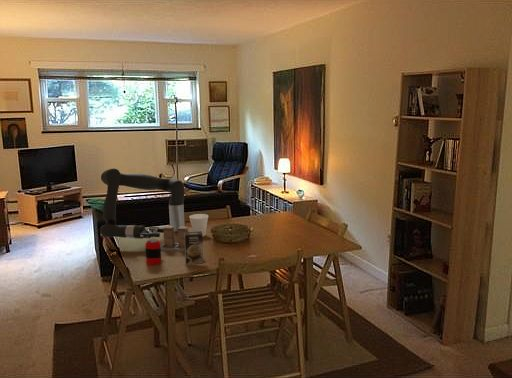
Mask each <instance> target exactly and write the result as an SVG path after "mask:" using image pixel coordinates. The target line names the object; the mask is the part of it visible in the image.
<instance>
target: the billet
mask: <svg viewBox="0 0 512 378" xmlns="http://www.w3.org/2000/svg"><path fill="white" fill-rule="evenodd" d="M162 229H163V230H164V233H163V244H164V248H174V247H175V243H176V242H175V239H176V238H175V232H174V226H170V225H165V226H164V227H162Z"/></svg>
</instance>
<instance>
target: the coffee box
mask: <svg viewBox="0 0 512 378" xmlns="http://www.w3.org/2000/svg"><path fill="white" fill-rule="evenodd" d="M184 235H185V252H184V257H185V258H184V259H185V266H194V265H195V266H196V265H204V244H203V243H204V242H203V240H204V239H203V237H204V236H202V232H201V231H198V232H193V231H188V232H184Z"/></svg>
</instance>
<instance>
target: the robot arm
mask: <svg viewBox="0 0 512 378" xmlns="http://www.w3.org/2000/svg"><path fill="white" fill-rule="evenodd" d="M100 180H101V181H102V183H103V184H105V185H107V187H106V188H107V190H106V196H105V200H104V202H103V210H102V211H103V212H102V218H103V220H104V221H105V223H104V224H103V225H102V226H101V227H100V228H99V234H100V235H101V236H102V237H105V238H113V237H115V238H117V237H118V238H124V239H125V238H126V239H127V238H128V239H135V240H136V239H138V240H139V239H141V240H142V239H151V238H160V237H161V234H160V233H163V234H164V230H163V228H160V227H159V226H149V227H148V228H146V227H145V225H141V224H139V225H137V224H129V225H127V224H126V225H124V224H121V225H120V224H119V225H118V224H117V218H116V215H117V200H118V193H119V188H120V186H121V187H128V188H134V189H138V190H145V191H155V190H157V191H164V192H168V193H170V198H169V200H168V210H169V211H168V213H169V226H174V233H176V232H177V233H178V228H179V227H180V226H184V227H185V212H184V211H185V209H184V207H185V206H184V201H185V184H184V182H183V181H181V180H179V179H176V178H162V177H161V178H160V177H157V176H154V175H150V174H142V173H121V172H120V170H119V169H118V168H115V167H112V168H108V169H106V170H104V171H103V172H102V173H101V175H100Z"/></svg>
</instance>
